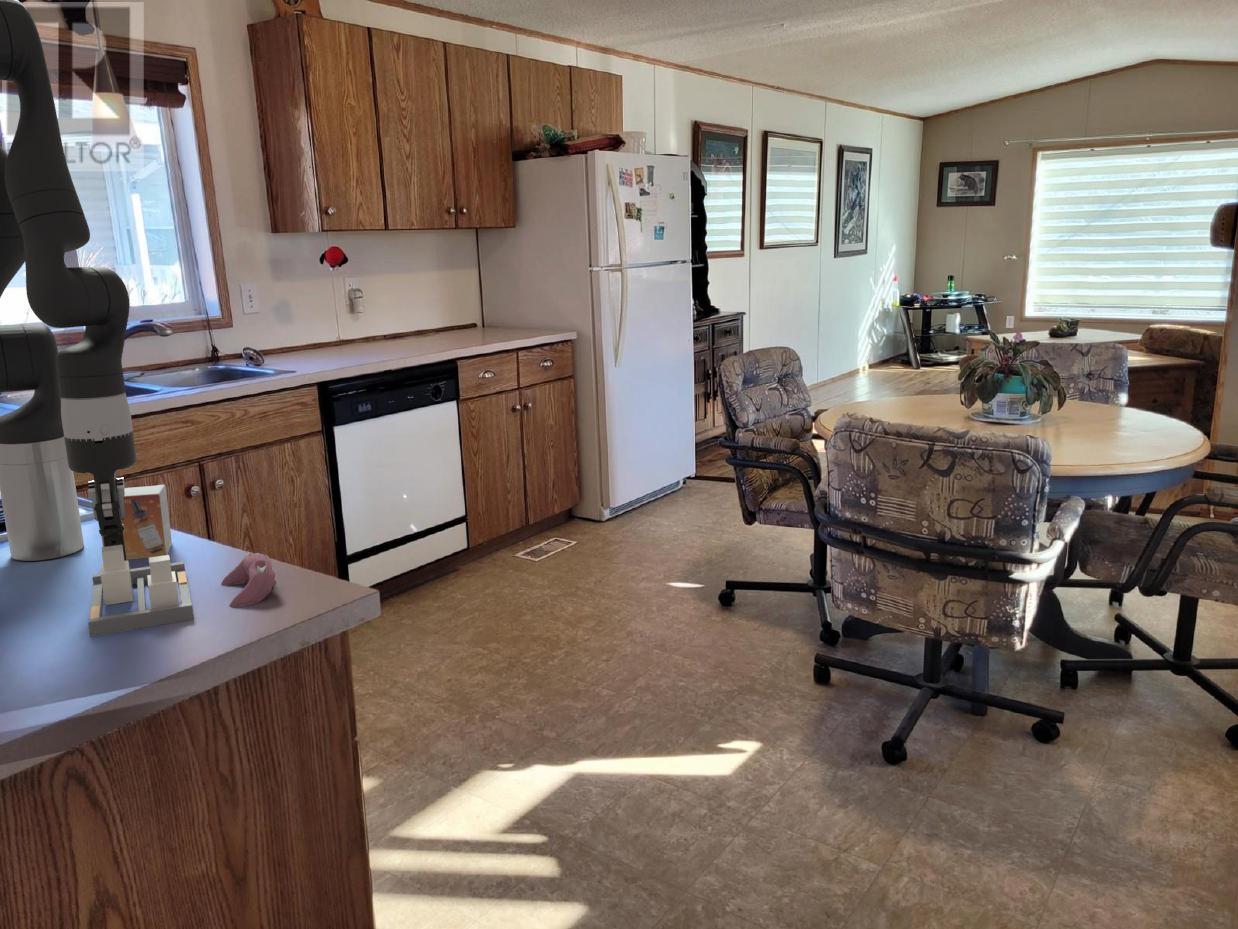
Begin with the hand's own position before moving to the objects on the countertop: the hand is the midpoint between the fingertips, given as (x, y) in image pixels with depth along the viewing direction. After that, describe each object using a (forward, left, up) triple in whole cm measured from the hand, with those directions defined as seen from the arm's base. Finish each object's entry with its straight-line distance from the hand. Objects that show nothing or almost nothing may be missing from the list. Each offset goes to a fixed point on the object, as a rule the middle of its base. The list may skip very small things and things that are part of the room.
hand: (116, 561), depth 116 cm
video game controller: (+11, +15, -5) cm, 19 cm away
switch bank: (+9, +2, -4) cm, 10 cm away
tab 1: (+6, 0, -3) cm, 6 cm away
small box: (-12, +2, -4) cm, 13 cm away
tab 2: (+13, +5, -3) cm, 14 cm away
